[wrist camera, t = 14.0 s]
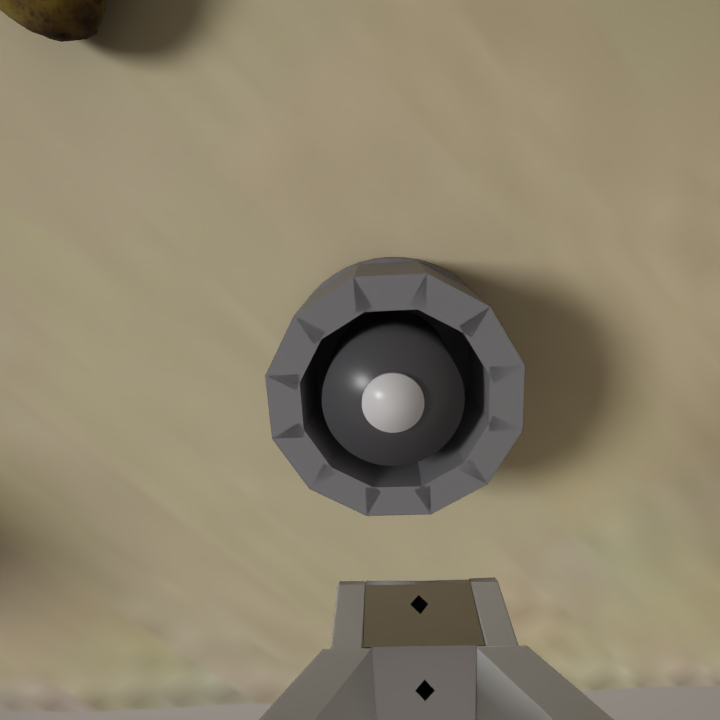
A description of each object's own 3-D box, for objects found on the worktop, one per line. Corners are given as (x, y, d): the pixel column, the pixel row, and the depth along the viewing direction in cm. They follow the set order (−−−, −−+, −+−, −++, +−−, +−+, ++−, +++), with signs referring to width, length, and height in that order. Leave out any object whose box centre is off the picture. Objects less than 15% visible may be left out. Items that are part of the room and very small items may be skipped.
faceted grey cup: (278, 262, 26) (249, 276, 20) (499, 251, 26) (533, 262, 20) (297, 460, 29) (276, 522, 23) (495, 454, 29) (524, 515, 23)
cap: (329, 311, 26) (316, 335, 21) (449, 307, 26) (467, 330, 20) (335, 423, 28) (325, 470, 22) (449, 420, 27) (465, 467, 22)
